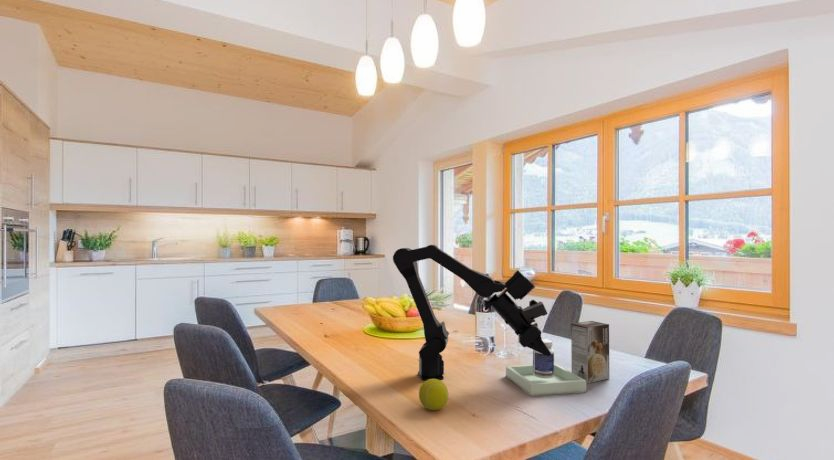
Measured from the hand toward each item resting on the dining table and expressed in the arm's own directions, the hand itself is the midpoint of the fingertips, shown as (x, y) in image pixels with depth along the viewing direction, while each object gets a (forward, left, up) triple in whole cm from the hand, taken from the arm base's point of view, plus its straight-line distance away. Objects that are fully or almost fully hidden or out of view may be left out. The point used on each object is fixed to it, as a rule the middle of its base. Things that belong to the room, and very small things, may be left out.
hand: (548, 352), depth 121 cm
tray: (-1, 0, -9) cm, 9 cm away
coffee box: (+15, +2, -9) cm, 18 cm away
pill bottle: (-1, +1, -7) cm, 7 cm away
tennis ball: (-36, -11, -9) cm, 39 cm away
